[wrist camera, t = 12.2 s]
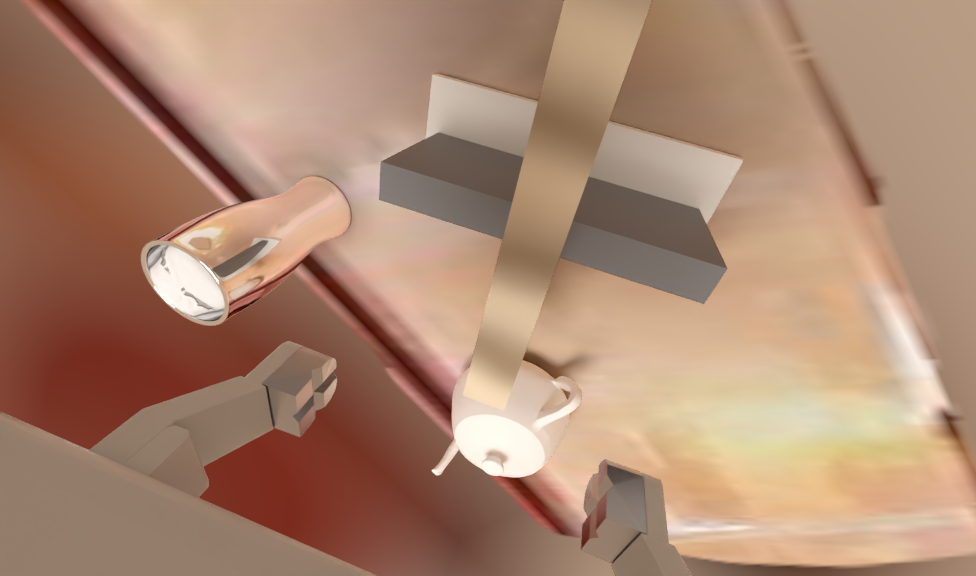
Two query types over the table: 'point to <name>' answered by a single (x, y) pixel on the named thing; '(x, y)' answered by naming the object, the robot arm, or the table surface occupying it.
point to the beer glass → (242, 250)
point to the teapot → (513, 424)
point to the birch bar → (552, 180)
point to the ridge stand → (606, 197)
